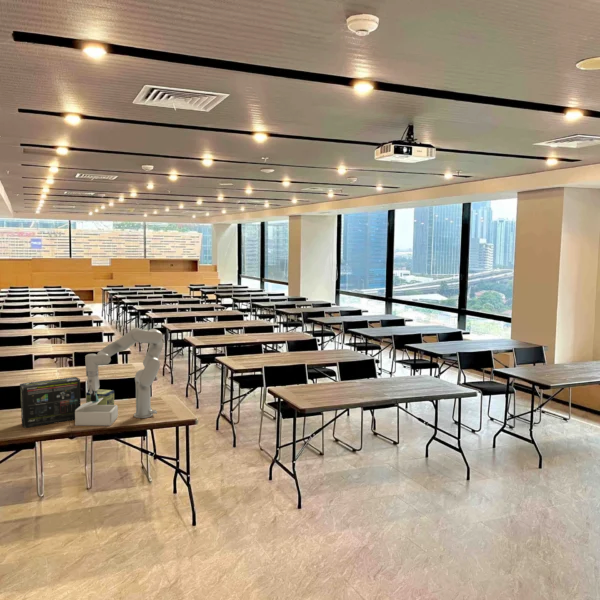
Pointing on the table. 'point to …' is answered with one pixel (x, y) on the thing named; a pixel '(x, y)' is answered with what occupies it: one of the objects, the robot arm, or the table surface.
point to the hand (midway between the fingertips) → (94, 400)
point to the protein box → (105, 394)
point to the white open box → (96, 415)
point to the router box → (49, 401)
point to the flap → (89, 403)
